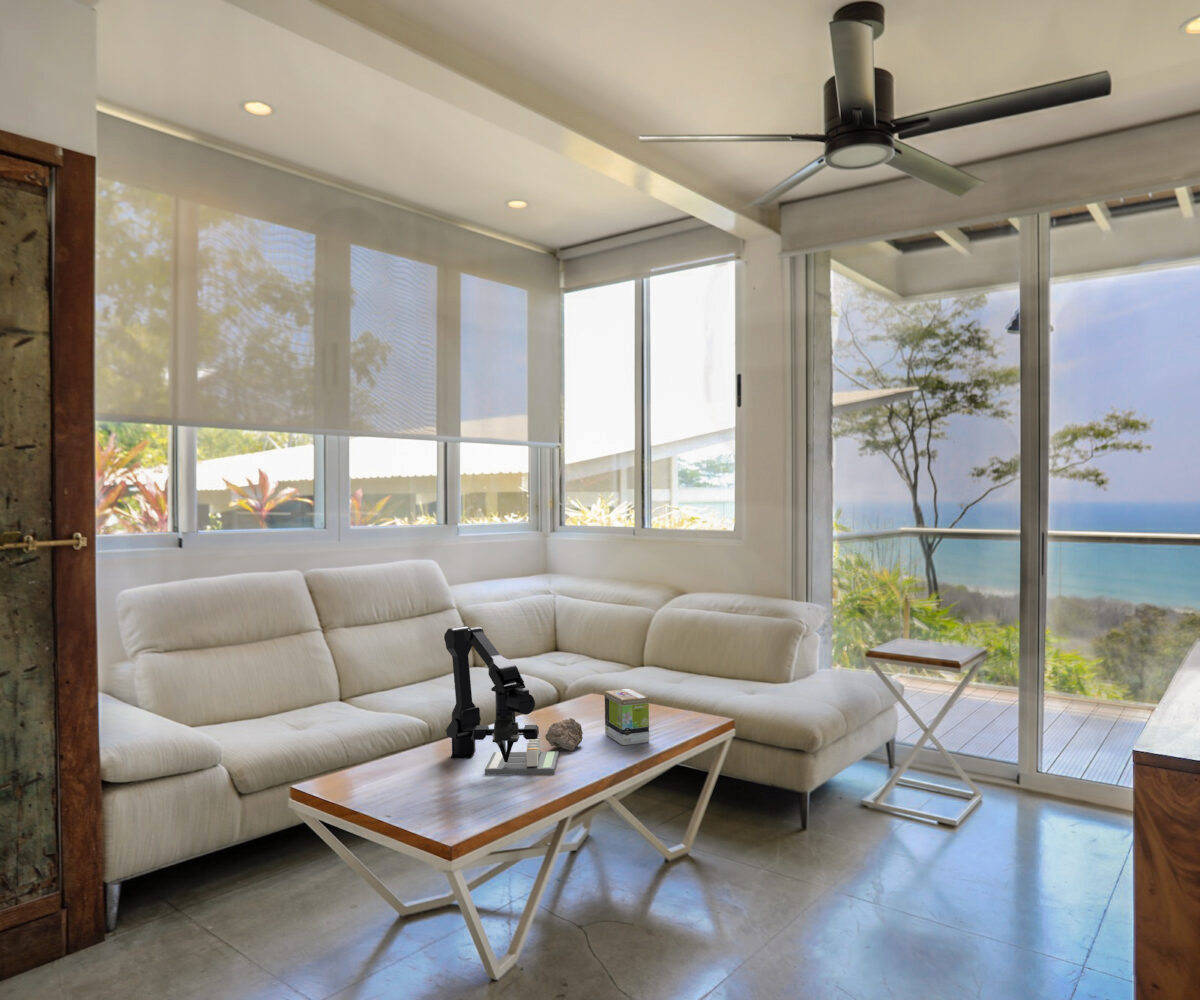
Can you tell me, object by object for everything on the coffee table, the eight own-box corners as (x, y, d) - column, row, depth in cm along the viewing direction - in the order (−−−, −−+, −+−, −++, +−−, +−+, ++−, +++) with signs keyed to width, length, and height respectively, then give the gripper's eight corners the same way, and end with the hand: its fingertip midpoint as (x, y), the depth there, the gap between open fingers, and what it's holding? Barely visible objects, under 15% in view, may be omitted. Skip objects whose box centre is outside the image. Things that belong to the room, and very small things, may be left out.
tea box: (650, 742, 264) (649, 696, 264) (621, 746, 261) (620, 699, 261) (631, 730, 278) (630, 687, 278) (604, 734, 275) (603, 690, 275)
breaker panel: (484, 774, 236) (484, 768, 236) (493, 757, 252) (493, 751, 252) (554, 773, 236) (554, 768, 236) (558, 756, 252) (558, 751, 252)
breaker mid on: (527, 760, 242) (526, 744, 242) (528, 757, 245) (528, 741, 245) (537, 760, 242) (537, 744, 242) (538, 757, 245) (538, 741, 245)
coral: (565, 756, 252) (553, 725, 253) (547, 761, 258) (535, 731, 259) (594, 738, 263) (582, 709, 264) (575, 743, 269) (563, 715, 270)
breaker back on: (529, 754, 248) (529, 739, 248) (530, 751, 251) (530, 736, 251) (539, 754, 248) (538, 739, 248) (540, 751, 251) (540, 736, 251)
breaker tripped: (526, 766, 237) (526, 750, 237) (528, 763, 240) (527, 747, 240) (537, 766, 237) (536, 750, 237) (538, 762, 240) (537, 747, 240)
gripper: (468, 715, 231) (469, 771, 231) (534, 715, 230) (535, 770, 231) (475, 705, 242) (476, 758, 242) (538, 705, 242) (539, 758, 242)
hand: (506, 761), depth 239 cm, fingers closed
